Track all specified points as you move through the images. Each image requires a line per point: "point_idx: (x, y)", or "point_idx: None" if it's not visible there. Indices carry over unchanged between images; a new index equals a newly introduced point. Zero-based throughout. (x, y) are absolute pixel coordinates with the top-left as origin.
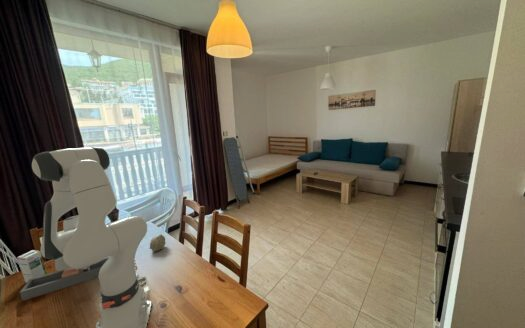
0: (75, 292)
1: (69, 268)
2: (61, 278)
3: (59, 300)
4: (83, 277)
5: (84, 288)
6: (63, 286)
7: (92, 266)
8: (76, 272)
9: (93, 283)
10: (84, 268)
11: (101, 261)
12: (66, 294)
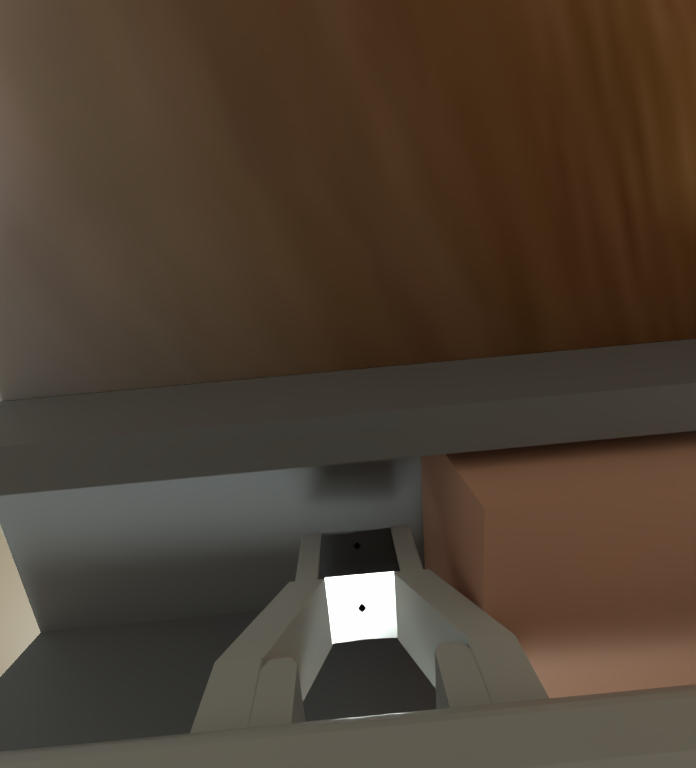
0: (400, 135)
1: None
2: None
3: (580, 34)
4: (354, 387)
5: (294, 177)
6: (602, 351)
7: None
8: (502, 486)
9: (197, 249)
10: (376, 593)
11: (148, 702)
12: (516, 154)
